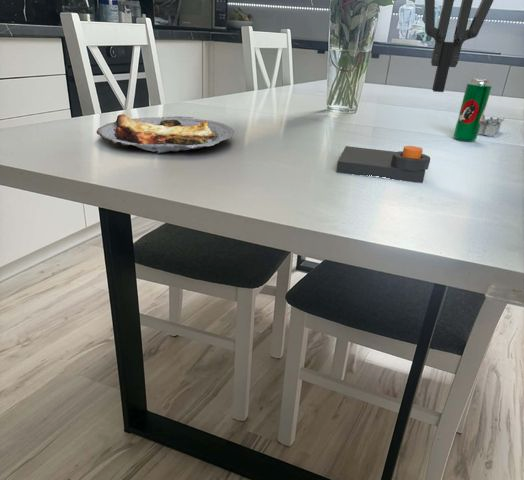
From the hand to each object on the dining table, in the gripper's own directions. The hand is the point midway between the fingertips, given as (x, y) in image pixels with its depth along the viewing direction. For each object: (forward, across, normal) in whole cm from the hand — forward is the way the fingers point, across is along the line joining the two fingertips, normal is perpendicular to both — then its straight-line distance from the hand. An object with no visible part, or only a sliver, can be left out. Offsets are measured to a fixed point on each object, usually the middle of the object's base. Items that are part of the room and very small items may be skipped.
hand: (437, 90), depth 76 cm
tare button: (+9, -2, -5) cm, 11 cm away
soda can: (+13, +12, +34) cm, 38 cm away
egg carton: (+13, +18, +46) cm, 51 cm away
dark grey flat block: (+12, -7, -1) cm, 14 cm away
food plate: (+12, -47, +2) cm, 48 cm away
